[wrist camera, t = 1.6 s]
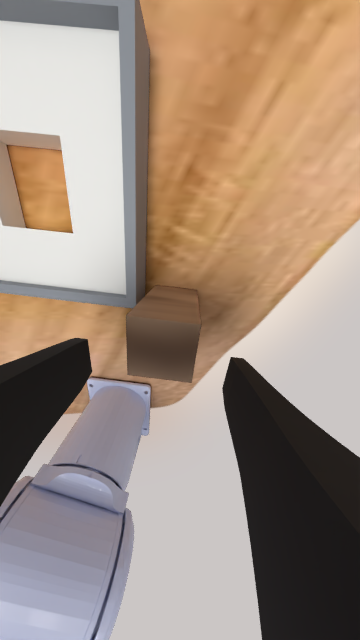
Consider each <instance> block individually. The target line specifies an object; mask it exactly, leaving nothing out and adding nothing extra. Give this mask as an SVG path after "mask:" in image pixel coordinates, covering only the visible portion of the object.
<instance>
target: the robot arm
mask: <svg viewBox="0 0 360 640" xmlns="http://www.w3.org/2000/svg"><path fill="white" fill-rule="evenodd" d="M91 373H92V367H91V360H90V353H89V346H88V339H81V338H74V339H70V340H67V341H64V342H61V343H59V344H56V345H53V346H51V347H48V348H46V349H43V350H40V351H38V352H35V353H33V354H30V355H28V356H25V357H22V358H20V359H17V360H14V361H11V362H9V363H6V364H3V365H0V640H109V638H110V636H111V633H112V630H113V627H114V624H115V622H116V618H117V615H118V612H119V609H120V605H121V602H122V598H123V594H124V590H125V586H126V582H127V577H128V573H129V567H130V562H131V556H132V549H133V541H134V525H133V521H132V515H131V511H130V510H129V509H127V508H125V507H126V502H127V498H128V495H129V493H128V492H125V489H126V487H127V484H128V481H129V478H130V474H131V471H132V466H133V463H134V459H135V456H136V452H137V448H138V445H139V441H140V437H141V435H145V436H146V435H148V433H149V419H150V396H151V387H150V386H149V385H146V384H138V383H131V382H123V381H115V380H107V379H99V378H89V376H90V374H91ZM88 378H89V379H88ZM86 382H87V384H88V391H89V397H90V402H89V403H88V405H87V406H86V408H85V409H84V411H83V412H82V414H81V415H80V417H79V419H78V420H77V422H76V423H75V424H74V426H73V427H72V429H71V431H70V432H69V434H68V435H67V437H66V438H65V440H64V441H63V442H62V444H61V445H60V447H59V448H58V450H57V452H56V453H55V455H54V456H53V457H52V459H51V460H50V462H49V464H48V465H47V464H43V466H42V467H41V469H40V470H39V471H38V473H37V474H36V476H35V477H34V478H33V477H30V476H25V477H23V478H22V479H21V480H19V481H17V482H16V480H17V479H18V477H19V476H20V474H21V473H22V471H23V470H24V468H25V466H26V465H27V463H28V462H29V460H30V459H31V457H32V456H33V454H34V452H35V451H36V450H37V448H38V447H39V445H40V444H41V443H42V441H43V440H44V438H45V437H46V436H47V434H48V433H49V432H50V431H51V429H52V428H53V427H54V425H55V424H56V423H57V421H58V420H59V419H60V417H61V416H62V415H63V414H64V412H65V411H66V410H67V408H68V407H69V406H70V405H71V403H72V402H73V401H74V399H75V398H76V397H77V395H78V394H79V393H80V391H81V390H82V388H83V387H84V385H85V383H86ZM146 391H147V392H146ZM223 397H224V406H225V411H226V416H227V420H228V424H229V429H230V433H231V437H232V441H233V445H234V449H235V453H236V458H237V462H238V467H239V471H240V477H241V482H242V489H243V495H244V502H245V508H246V515H247V521H248V529H249V536H250V542H251V550H252V558H253V566H254V574H255V582H256V590H257V598H258V606H259V615H260V624H261V632H262V640H360V457H358V456H357V455H355V454H354V453H353V452H351V451H350V450H349V449H347V448H346V447H345V446H343V445H342V444H341V443H339V442H338V441H337V440H335V439H334V438H333V437H331V436H330V435H329V434H328V433H326V432H325V431H324V430H323V429H321V428H320V427H319V426H317V425H316V424H315V423H314V422H312V421H311V420H310V419H309V418H307V417H306V416H305V415H304V414H303V413H302V412H300V411H299V410H298V409H297V408H296V407H295V406H293V405H292V404H291V403H290V402H289V401H288V400H287V399H286V398H285V397H283V396H282V395H281V394H280V393H279V392H278V391H277V390H276V389H275V388H274V387H273V386H272V385H270V384H269V383H268V382H267V381H266V380H265V379H264V378H263V377H262V376H261V375H260V374H259V373H258V372H257V371H256V370H255V369H254V368H253V367H252V366H251V365H250V364H249V363H248V362H246V360H244V359H243V358H234V357H231V359H230V363H229V366H228V370H227V373H226V377H225V381H224V385H223Z"/></svg>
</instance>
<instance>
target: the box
mask: <svg viewBox="0 0 360 640" xmlns="http://www.w3.org/2000/svg"><path fill="white" fill-rule="evenodd" d="M149 67H150V49H149V44H148V39H147V35H146V30H145V25H144V20H143V16H142V11H141V6H140V1H139V0H0V293H7V294H15V295H24V296H32V297H41V298H49V299H57V300H66V301H74V302H83V303H91V304H100V305H108V306H116V307H125V308H134V307H135V306H136V305H137V304H138V303H139V302H140V301H141V300H142V299H143V298H144V297H145V280H146V227H147V174H148V120H149ZM6 145H14V146H24V147H34V148H44V149H54V150H62V156H63V163H64V170H65V177H66V185H67V192H68V199H69V207H70V214H71V221H72V228H73V233H64V232H55V231H46V230H37V229H28V228H26V226H25V222H24V218H23V213H22V209H21V205H20V201H19V196H18V192H17V188H16V184H15V179H14V175H13V171H12V167H11V162H10V158H9V154H8V150H7V146H6Z"/></svg>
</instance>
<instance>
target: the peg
mask: <svg viewBox="0 0 360 640" xmlns="http://www.w3.org/2000/svg"><path fill="white" fill-rule="evenodd" d="M200 329H201V318H200V310H199V302H198V294H197V290H195V289H186V288H177V287H169V286H160V285H155V286H154V287H153V288H152V289H151V290H150V291H149V292H148V293H147V294H146V296H145V297H144V298H143V299H142V300H141V301H140V302H139V303H138V304H137V305H136V306H135V307H134V308H133V309H132V310H131V311H130V312H129V313H128V314H127V315H126V337H127V370H128V375H133V376H141V377H149V378H157V379H165V380H173V381H181V382H189V383H192V377H193V371H194V365H195V359H196V353H197V347H198V341H199V335H200Z"/></svg>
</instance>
